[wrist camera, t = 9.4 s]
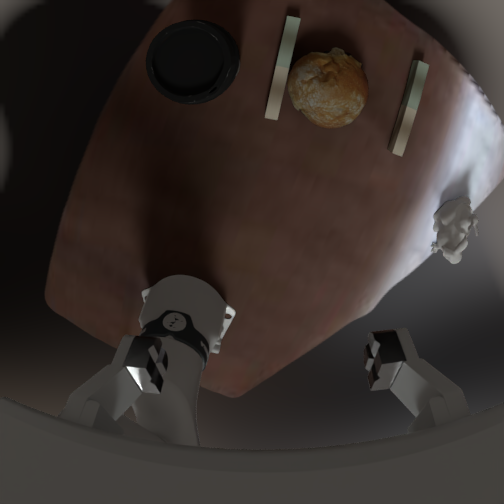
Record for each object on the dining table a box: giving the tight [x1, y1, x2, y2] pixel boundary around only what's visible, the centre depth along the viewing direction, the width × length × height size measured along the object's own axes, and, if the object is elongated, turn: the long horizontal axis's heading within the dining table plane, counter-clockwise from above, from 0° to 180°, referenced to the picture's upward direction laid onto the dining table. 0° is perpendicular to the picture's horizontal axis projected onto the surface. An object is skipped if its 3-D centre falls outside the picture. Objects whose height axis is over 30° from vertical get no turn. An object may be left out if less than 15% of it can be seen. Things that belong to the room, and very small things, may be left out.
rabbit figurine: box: [431, 196, 479, 264], centre depth 38 cm, size 12×8×10 cm, turn 156°
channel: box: [265, 16, 429, 156], centre depth 32 cm, size 14×19×2 cm
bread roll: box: [287, 47, 369, 128], centre depth 31 cm, size 10×10×8 cm
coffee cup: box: [146, 20, 240, 104], centre depth 27 cm, size 8×8×15 cm
